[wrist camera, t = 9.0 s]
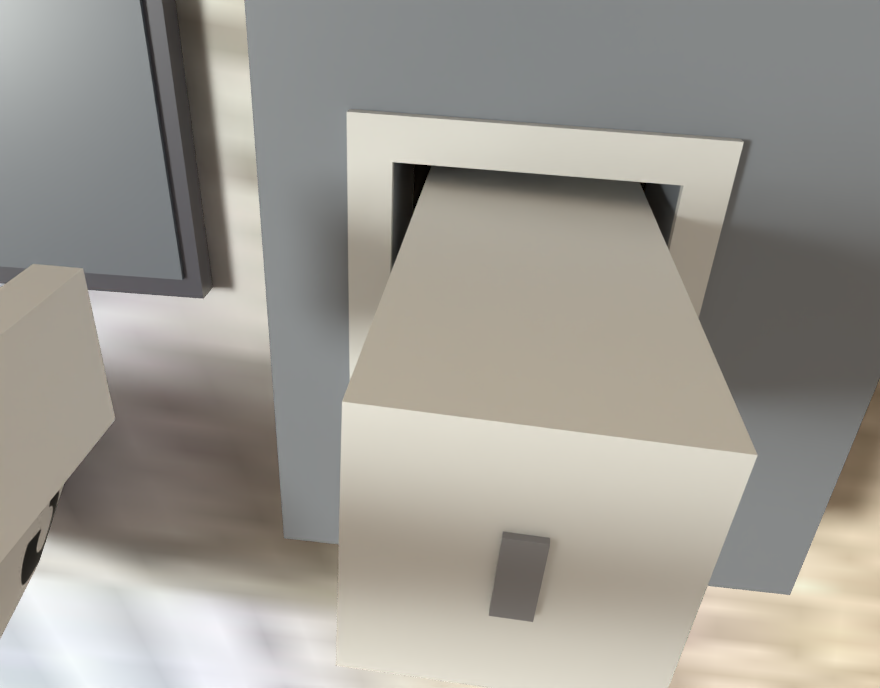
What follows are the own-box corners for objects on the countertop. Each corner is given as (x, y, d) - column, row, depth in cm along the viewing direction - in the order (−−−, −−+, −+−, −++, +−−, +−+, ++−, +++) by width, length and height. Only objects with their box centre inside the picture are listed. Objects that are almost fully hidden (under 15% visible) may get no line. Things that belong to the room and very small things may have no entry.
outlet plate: (276, -447, 12) (197, -562, 9) (1081, -423, 11) (1272, -541, 8) (314, 460, 21) (281, 544, 18) (755, 506, 20) (792, 601, 17)
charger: (441, 138, 16) (338, 407, 7) (629, 159, 16) (760, 461, 7) (427, 304, 18) (334, 672, 9) (593, 325, 18) (660, 719, 9)
